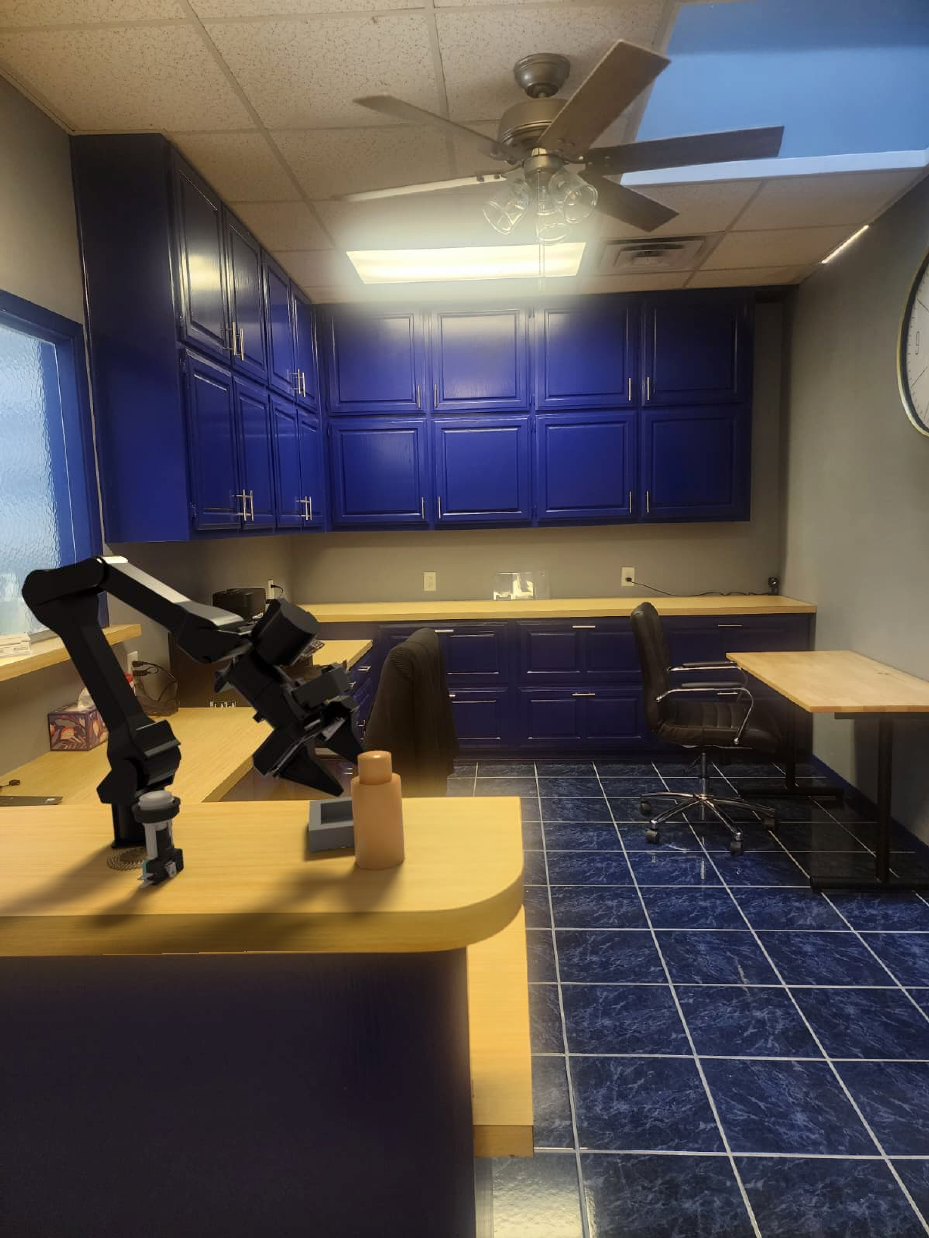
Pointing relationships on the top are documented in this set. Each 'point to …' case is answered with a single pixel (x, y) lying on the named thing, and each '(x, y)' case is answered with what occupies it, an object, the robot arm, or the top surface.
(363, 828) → the peach lotion bottle
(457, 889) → the top surface
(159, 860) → the push button
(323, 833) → the socket
